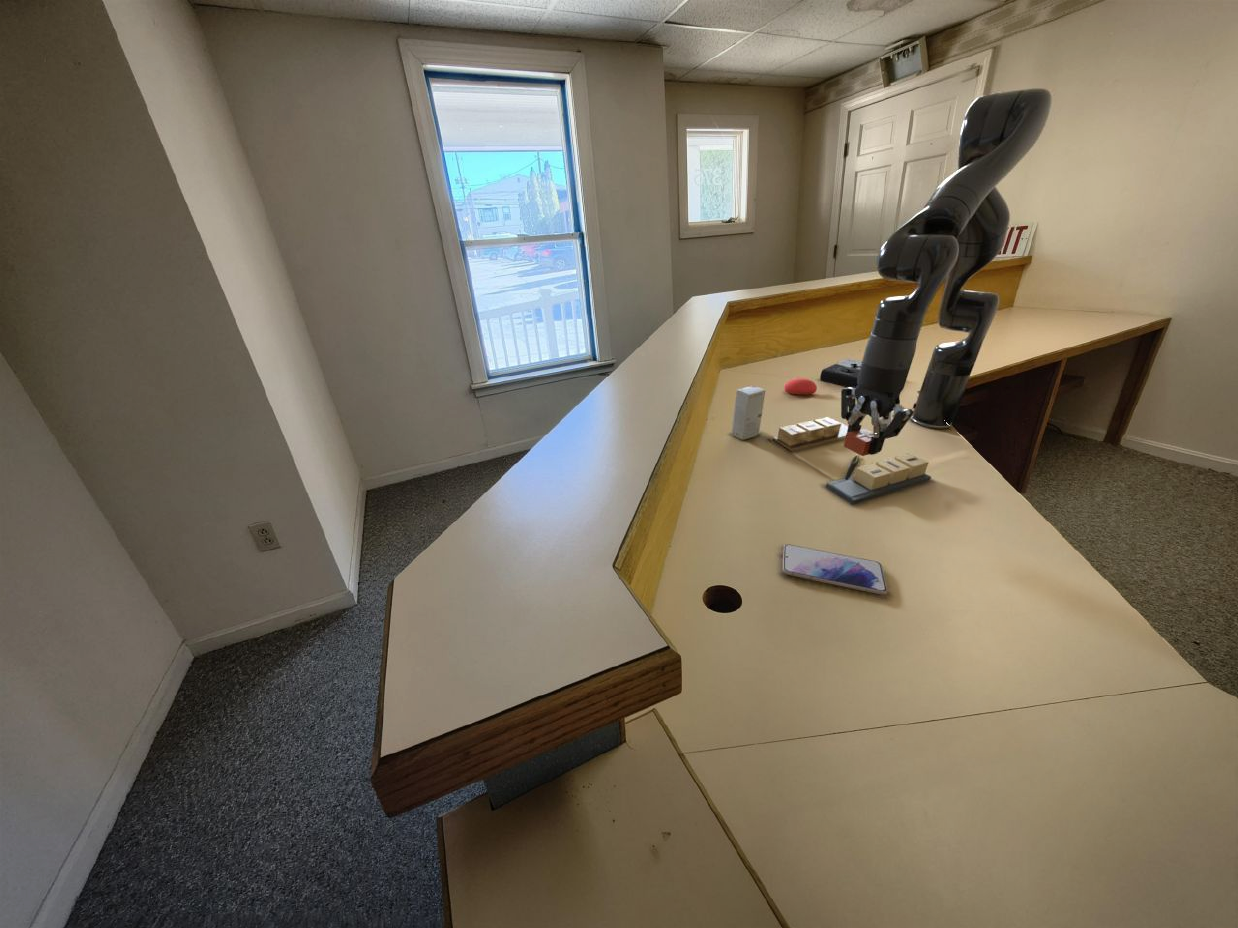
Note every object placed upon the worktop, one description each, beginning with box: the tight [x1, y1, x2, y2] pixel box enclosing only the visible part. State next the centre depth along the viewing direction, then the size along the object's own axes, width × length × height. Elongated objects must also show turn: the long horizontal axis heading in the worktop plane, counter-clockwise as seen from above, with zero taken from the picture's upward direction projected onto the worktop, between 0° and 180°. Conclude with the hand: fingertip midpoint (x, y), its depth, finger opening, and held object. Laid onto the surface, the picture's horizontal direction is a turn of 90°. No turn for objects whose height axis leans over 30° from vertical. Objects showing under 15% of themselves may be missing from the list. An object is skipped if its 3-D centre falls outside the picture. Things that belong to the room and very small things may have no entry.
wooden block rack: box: [825, 452, 932, 505], centre depth 94 cm, size 22×7×4 cm, turn 113°
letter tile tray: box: [771, 416, 849, 453], centre depth 113 cm, size 22×7×4 cm, turn 113°
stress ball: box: [783, 377, 818, 396], centre depth 140 cm, size 5×9×6 cm
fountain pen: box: [844, 454, 860, 480], centre depth 99 cm, size 14×1×2 cm, turn 145°
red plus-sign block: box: [843, 428, 874, 457], centre depth 87 cm, size 4×4×3 cm
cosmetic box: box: [731, 385, 766, 441], centre depth 113 cm, size 6×4×12 cm
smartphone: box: [782, 543, 888, 596], centre depth 72 cm, size 7×1×15 cm
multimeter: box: [819, 358, 862, 388], centre depth 152 cm, size 13×19×5 cm
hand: (861, 447), depth 87 cm, fingers closed on red plus-sign block, 4 cm apart
